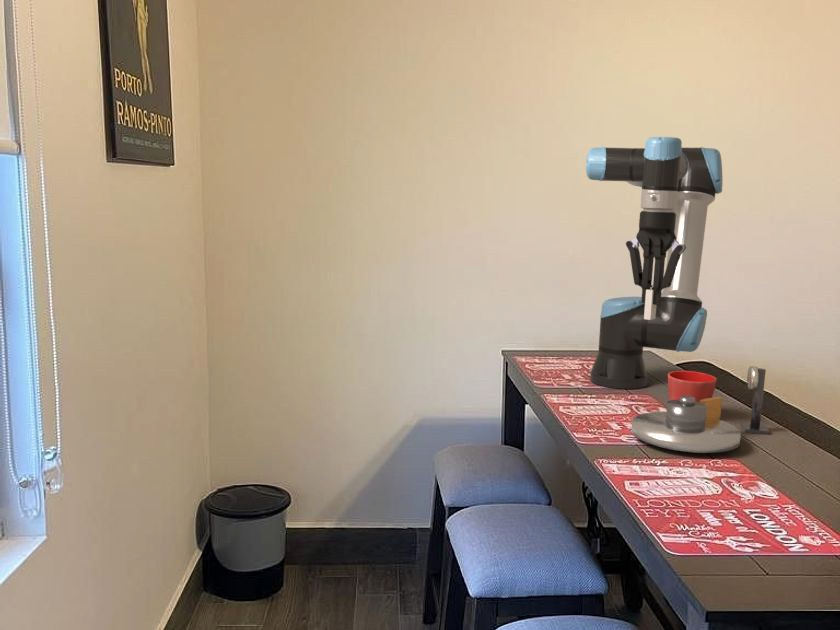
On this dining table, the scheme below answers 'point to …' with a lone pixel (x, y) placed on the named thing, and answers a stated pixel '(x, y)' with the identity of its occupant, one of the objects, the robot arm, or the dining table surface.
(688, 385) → the flower pot
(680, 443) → the turntable
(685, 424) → the cover
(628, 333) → the robot arm
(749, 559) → the dining table surface
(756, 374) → the dial post
